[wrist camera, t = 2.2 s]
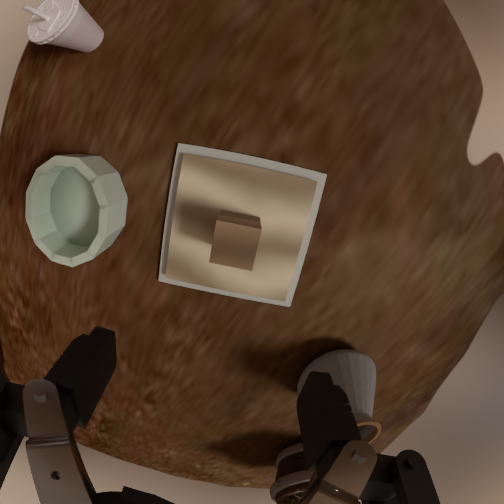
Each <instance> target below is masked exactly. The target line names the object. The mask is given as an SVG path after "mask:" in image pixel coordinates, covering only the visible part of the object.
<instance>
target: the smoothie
mask: <svg viewBox="0 0 504 504" xmlns="http://www.w3.org/2000/svg"><path fill="white" fill-rule="evenodd" d="M22 9H23V10H25V11H27V12H29V13H31V14H33V15H32V17H31V19H30V21H29V24H28V28H27V36H28V39H29V40H30V41H32V42H34V43H36V44H40V45H41V44H46V43H47V44H52V45H57V46H61V47H66V48H70V49H74V50H78V51H81V52H90V51H92V50H94V49H95V48H97V47H98V46H99V45H100V43H101V42H102V40H103V36H104V33H103V30H102V29H101V28H100V27H99V25H98V24H97V23H96V22H95V21H94V20H93V18H92V17H91V16H90V15H89V14H88V13H87V11H86V10H85V9H84V8H83V7H82V5H81V4H80V3H79V0H45V1H44V2H43V3H42V4H41V5H40V6H39V7H38V8H37V9H35V8H33V7H31V6H29V5H27V4H24V5H23V6H22Z"/></svg>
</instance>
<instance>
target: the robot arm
mask: <svg viewBox="0 0 504 504" xmlns="http://www.w3.org/2000/svg"><path fill="white" fill-rule="evenodd" d="M116 362H117V356H116V339H115V332H114V331H113V330H109V329H106V328H103V327H100V326H96V327H95V328H94V329H93V331H92V332H91V333H90V335H89V336H88V335H86V334H82V335H81V336H79V337H77V338H75V339H74V340H73V341H72V342H71V344H70V345H69V346H68V348H67V349H66V350H65V351H64V352H63V355H61V356H60V358H59V359H58V360H57V361H56V363H55V364H54V365H53V367H52V368H51V369H50V371H49V372H48V373H47V375H46V376H45V377H44V379H35V380H32V381H30V382H28V383H27V384H26V385H20V384H15V383H11V382H7V381H6V379H5V377H4V375H3V373H1V371H0V489H1V487H2V484H3V481H4V479H5V477H6V474H7V472H8V470H9V468H10V465H11V463H12V461H13V459H14V456H15V454H16V452H17V450H18V448H19V446H20V444H21V442H22V440H23V438H24V436H26V437H28V438H29V440H27V441H26V451H27V455H28V460H29V464H30V469H31V473H32V476H33V480H34V484H35V486H36V490H37V494H38V497H39V500H40V503H41V504H174V503H172V502H169V501H167V500H165V499H163V498H161V497H158V496H156V495H154V494H150V493H146V492H142V491H139V490H135V489H132V488H129V487H125V486H124V487H123V490H122V492H112V491H110V492H101V493H96V491H95V489H94V487H93V484H92V482H91V480H90V478H89V476H88V474H87V471H86V469H85V466H84V464H83V461H82V458H81V455H80V453H79V450H78V447H77V444H76V441H75V437H74V434H73V431H74V429H75V427H76V425H77V426H79V427H82V428H84V429H85V428H86V426H87V424H88V422H89V420H90V418H91V416H92V414H93V412H94V410H95V408H96V406H97V404H98V402H99V400H100V398H101V396H102V394H103V392H104V390H105V388H106V386H107V384H108V382H109V381H110V379H111V377H112V375H113V373H114V371H115V367H116ZM349 404H350V403H349V400H348V397H347V394H346V393H345V392H344V391H343V389H342V388H341V387H340V386H339V385H334V384H333V381H332V378H331V375H330V373H328V372H317V371H311V372H310V373H309V375H308V377H307V379H306V381H305V383H304V386H303V388H302V390H301V392H300V394H299V396H298V399H297V413H298V419H299V425H300V432H301V438H302V444H303V450H304V457H305V463H306V470H307V471H317V478H316V479H315V480H314V481H313V483H312V484H311V485H310V487H309V488H308V489H307V491H306V492H305V493H304V495H303V496H302V497H301V499H300V500H299V501H298V502H297V504H360V502H359V501H358V499H361V501H362V504H440V502H439V499H438V496H437V493H436V490H435V487H434V484H433V481H432V478H431V476H430V473H429V470H428V468H427V465H426V462H425V460H424V458H423V457H422V455H420V454H419V453H418V452H416V451H414V450H404V451H402V452H400V453H399V454H398V455H397V456H396V457H394V456H388V455H382V454H378V453H377V452H376V450H375V449H374V447H373V446H372V445H370V444H369V443H367V442H365V441H363V440H362V438H361V435H360V432H359V429H358V426H357V423H356V420H355V417H354V414H353V413H352V409H351V406H350V405H349Z"/></svg>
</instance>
